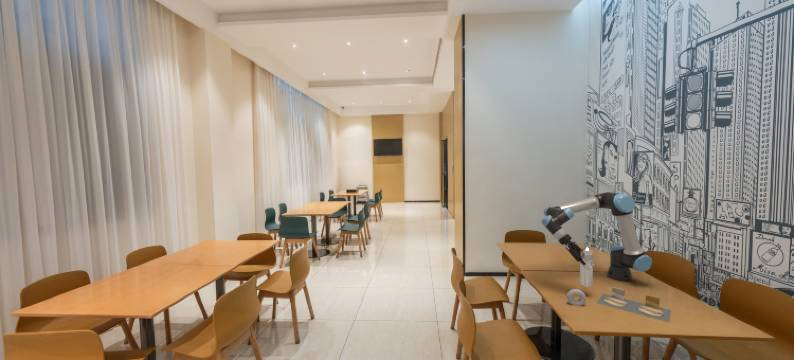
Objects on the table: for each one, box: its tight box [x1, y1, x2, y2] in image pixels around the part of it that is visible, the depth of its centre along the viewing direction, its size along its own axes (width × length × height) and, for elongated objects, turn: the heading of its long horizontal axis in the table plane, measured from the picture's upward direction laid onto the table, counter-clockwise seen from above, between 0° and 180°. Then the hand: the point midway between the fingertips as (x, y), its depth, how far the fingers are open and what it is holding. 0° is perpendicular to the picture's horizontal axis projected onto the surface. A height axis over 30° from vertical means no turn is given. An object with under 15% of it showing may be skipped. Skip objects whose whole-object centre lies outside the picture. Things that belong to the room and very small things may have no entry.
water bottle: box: [579, 244, 594, 288], centre depth 191 cm, size 7×7×25 cm
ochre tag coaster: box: [638, 294, 664, 317], centre depth 172 cm, size 14×11×6 cm
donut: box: [566, 288, 587, 307], centre depth 180 cm, size 10×4×10 cm, turn 75°
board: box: [596, 293, 672, 323], centre depth 177 cm, size 18×32×1 cm, turn 46°
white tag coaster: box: [604, 286, 627, 307], centre depth 183 cm, size 14×11×6 cm
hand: (591, 267), depth 189 cm, fingers closed on water bottle, 7 cm apart
